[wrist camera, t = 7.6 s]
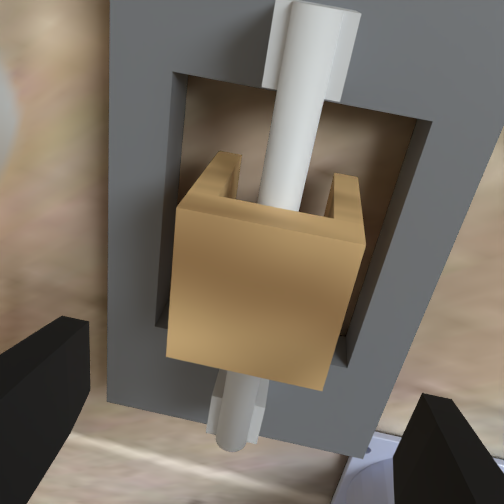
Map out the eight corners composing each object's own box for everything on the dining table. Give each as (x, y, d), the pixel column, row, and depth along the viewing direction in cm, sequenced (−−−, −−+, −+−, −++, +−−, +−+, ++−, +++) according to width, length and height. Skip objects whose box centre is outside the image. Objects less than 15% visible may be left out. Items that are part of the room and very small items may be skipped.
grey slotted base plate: (360, 424, 23) (368, 526, 19) (122, 371, 24) (76, 458, 19) (550, -59, 13) (662, -85, 9) (138, -130, 14) (49, -189, 9)
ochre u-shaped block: (325, 298, 18) (322, 391, 14) (205, 272, 19) (165, 356, 14) (357, 177, 16) (366, 245, 12) (219, 150, 16) (176, 207, 12)
